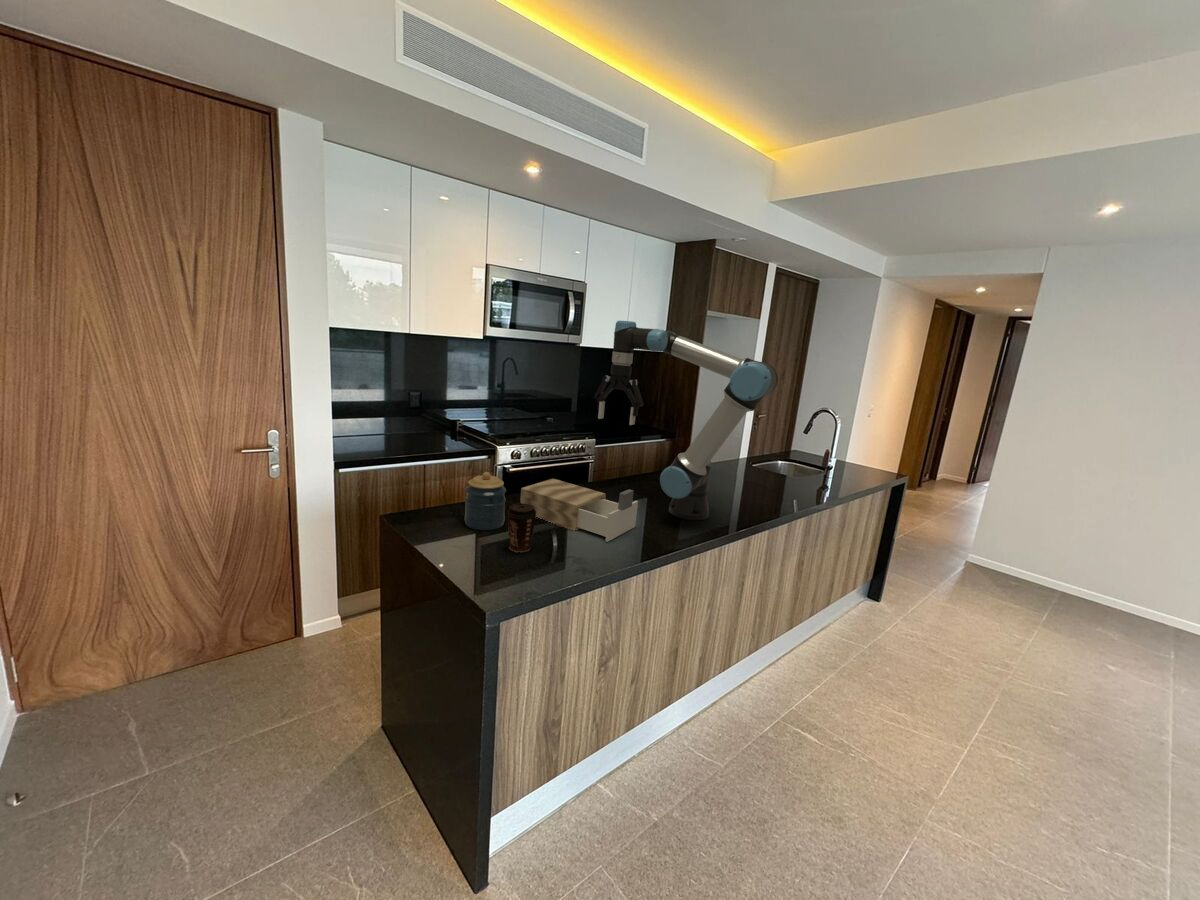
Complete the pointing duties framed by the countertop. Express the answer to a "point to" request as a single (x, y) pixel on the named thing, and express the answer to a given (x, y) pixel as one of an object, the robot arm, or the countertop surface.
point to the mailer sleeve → (558, 501)
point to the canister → (485, 503)
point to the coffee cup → (521, 526)
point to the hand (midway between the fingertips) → (616, 421)
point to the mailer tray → (608, 516)
